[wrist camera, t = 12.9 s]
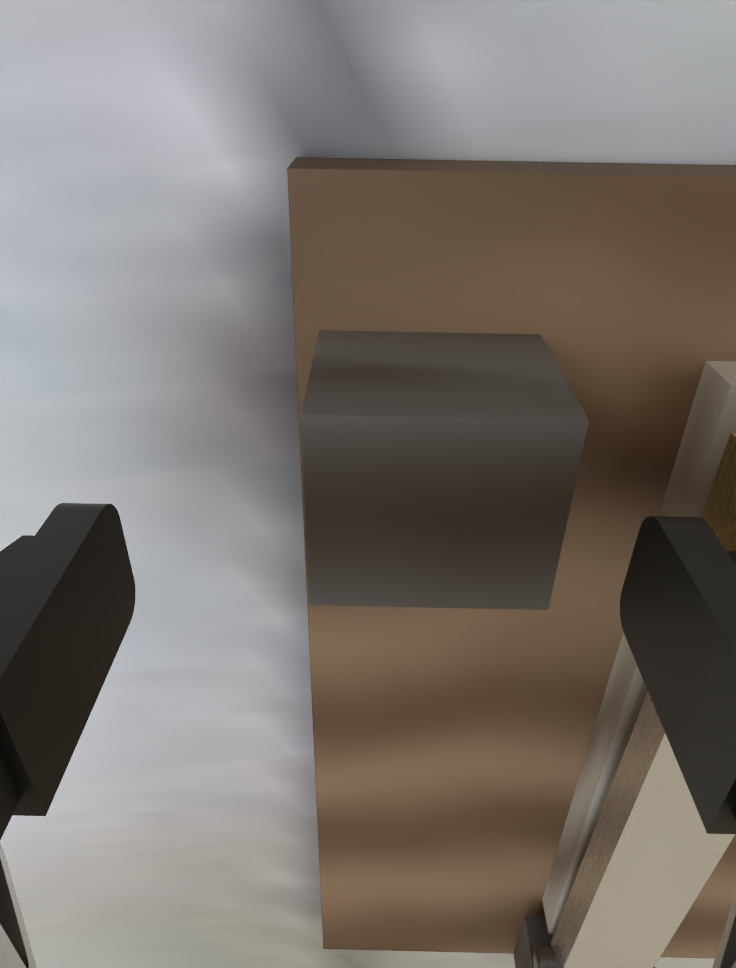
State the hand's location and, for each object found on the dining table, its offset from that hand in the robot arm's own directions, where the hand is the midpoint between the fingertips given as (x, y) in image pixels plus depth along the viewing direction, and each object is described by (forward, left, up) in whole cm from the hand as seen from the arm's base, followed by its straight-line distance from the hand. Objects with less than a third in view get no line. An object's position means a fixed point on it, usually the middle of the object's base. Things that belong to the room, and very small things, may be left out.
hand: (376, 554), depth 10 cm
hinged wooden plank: (-10, -8, -7) cm, 15 cm away
